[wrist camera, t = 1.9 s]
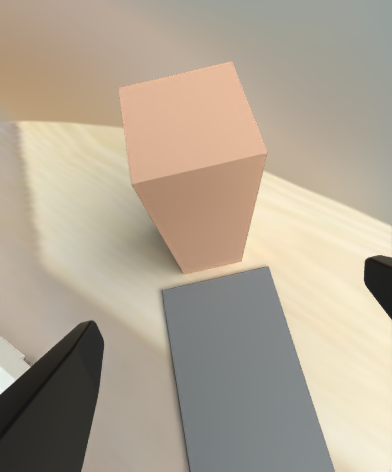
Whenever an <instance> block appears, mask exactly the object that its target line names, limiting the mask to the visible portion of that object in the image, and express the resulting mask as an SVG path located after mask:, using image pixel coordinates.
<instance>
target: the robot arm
mask: <svg viewBox="0 0 392 472" xmlns="http://www.w3.org/2000/svg"><path fill="white" fill-rule="evenodd" d="M364 282H365V285H366V287H367V288H368V289H369V291H370V292H371V293H372V295H373V296H374V297H375V299H376V300H377V301H378V302H379V304H380V305H381V306H382V308H383V309H384V310H385V312H386V313H387V314H388V316H389V317H390V318H391V319H392V258H391V257H387V256H382V255H377V256H373V257H369V258H367V259H366V260H365V267H364ZM103 351H104V340H103V337H102V335H101V333H100V331H99V329H98V326H97V324H96V323H95V321H93V320H90V321H86V322H82V323H80V324H79V325H77V326H76V327H75V328H74V329H73V330H72V331H71V332H70V333H68V334H67V335H66V336H65V337H64V338H63V339H62V340H61V341H60V342H58V343H57V344H56V345H55V346H54V347H53V348H52V349H51V350H49V351H48V352H47V353H46V354H45V355H44V356H43V357H42V358H40V359H39V360H38V361H37V362H36V363H35V364H34V365H33V366H31V367H30V368H29V369H28V370H27V371H26V372H25V373H24V374H23V375H21V376H20V377H19V378H18V379H17V380H16V381H15V382H14V383H12V384H11V385H10V386H9V387H8V388H7V389H6V390H5V391H3V392H2V393H1V394H0V472H81V470H82V466H83V461H84V457H85V452H86V448H87V443H88V439H89V434H90V430H91V425H92V421H93V416H94V412H95V407H96V403H97V398H98V393H99V386H100V377H101V369H102V360H103Z"/></svg>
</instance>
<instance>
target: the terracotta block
mask: <svg viewBox="0 0 392 472" xmlns="http://www.w3.org/2000/svg"><path fill="white" fill-rule="evenodd" d="M119 95H120V102H121V109H122V117H123V125H124V132H125V140H126V147H127V155H128V162H129V170H130V177H131V184H132V186H133V188H134V190H135V191H136V193H137V195H138V196H139V198H140V200H141V201H142V203H143V205H144V207H145V208H146V210H147V212H148V213H149V215H150V217H151V219H152V220H153V222H154V224H155V225H156V227H157V229H158V231H159V232H160V234H161V236H162V237H163V239H164V241H165V243H166V244H167V246H168V248H169V249H170V251H171V253H172V255H173V256H174V258H175V260H176V261H177V263H178V265H179V266H180V268H181V270H182V272H183V273H184V274H188V273H192V272H197V271H201V270H205V269H210V268H214V267H219V266H223V265H227V264H232V263H236V262H240V261H242V257H243V253H244V248H245V244H246V240H247V236H248V232H249V228H250V223H251V219H252V215H253V211H254V207H255V203H256V199H257V194H258V190H259V186H260V182H261V178H262V174H263V170H264V165H265V161H266V157H267V150H266V148H265V145H264V143H263V140H262V138H261V135H260V132H259V130H258V127H257V124H256V122H255V119H254V117H253V114H252V112H251V109H250V107H249V104H248V102H247V99H246V96H245V94H244V91H243V89H242V86H241V83H240V81H239V78H238V76H237V73H236V71H235V68H234V65H233V63H232V62H227V63H223V64H219V65H214V66H210V67H206V68H202V69H197V70H193V71H189V72H185V73H180V74H176V75H172V76H168V77H164V78H160V79H155V80H151V81H146V82H142V83H138V84H134V85H130V86H125V87H121V88H119Z"/></svg>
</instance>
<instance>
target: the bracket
mask: <svg viewBox="0 0 392 472" xmlns="http://www.w3.org/2000/svg"><path fill="white" fill-rule="evenodd" d="M24 358H25V356H24V355H23V354H22V353H21V352H19V351H18V350H17V349H16V348H15V347H13V346H12V345H11V344H10V343H9V342H7V341H6V340H5V339H4V338H3V337H1V336H0V394H1V393H2V392H3V391H5V390H6V389H7V388H8V387H9V386H10V385H11V384H12V383H14V382H15V381H16V380H17V379H18V378H19V377H20V376H21V375H23V374H24V373H25V372H26V371H27V370H28V369H29V368H30V367H31V366H29V365H28V364H27V363H26V362H25V361H24V360H23V359H24Z"/></svg>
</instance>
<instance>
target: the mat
mask: <svg viewBox="0 0 392 472" xmlns="http://www.w3.org/2000/svg"><path fill="white" fill-rule="evenodd" d="M162 293H163V299H164V306H165V312H166V318H167V325H168V331H169V338H170V344H171V350H172V357H173V363H174V369H175V376H176V382H177V388H178V395H179V401H180V407H181V414H182V420H183V426H184V433H185V439H186V445H187V452H188V458H189V465H190V471H191V472H335V470H334V467H333V464H332V461H331V458H330V455H329V452H328V448H327V445H326V442H325V439H324V436H323V433H322V430H321V427H320V424H319V421H318V418H317V415H316V411H315V408H314V405H313V402H312V399H311V396H310V393H309V390H308V387H307V384H306V381H305V378H304V374H303V371H302V368H301V365H300V362H299V359H298V356H297V353H296V350H295V347H294V344H293V340H292V337H291V334H290V331H289V328H288V325H287V322H286V319H285V316H284V313H283V310H282V307H281V303H280V300H279V297H278V294H277V291H276V288H275V285H274V282H273V279H272V276H271V273H270V269H269V266H268V267H263V268H259V269H255V270H250V271H246V272H241V273H237V274H233V275H228V276H224V277H219V278H215V279H211V280H206V281H202V282H197V283H193V284H189V285H184V286H180V287H175V288H171V289H167V290H162Z"/></svg>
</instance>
